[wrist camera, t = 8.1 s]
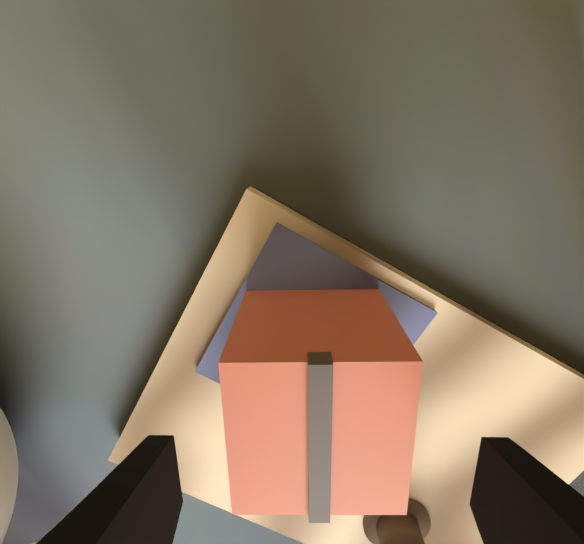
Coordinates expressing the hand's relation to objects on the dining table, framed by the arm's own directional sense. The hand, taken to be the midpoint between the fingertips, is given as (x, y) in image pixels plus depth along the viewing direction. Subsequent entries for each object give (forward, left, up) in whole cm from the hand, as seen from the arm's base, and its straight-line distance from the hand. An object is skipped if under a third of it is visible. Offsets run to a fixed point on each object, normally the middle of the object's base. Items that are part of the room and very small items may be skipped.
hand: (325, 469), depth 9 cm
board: (-4, +3, -8) cm, 9 cm away
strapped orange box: (0, 0, -6) cm, 6 cm away
